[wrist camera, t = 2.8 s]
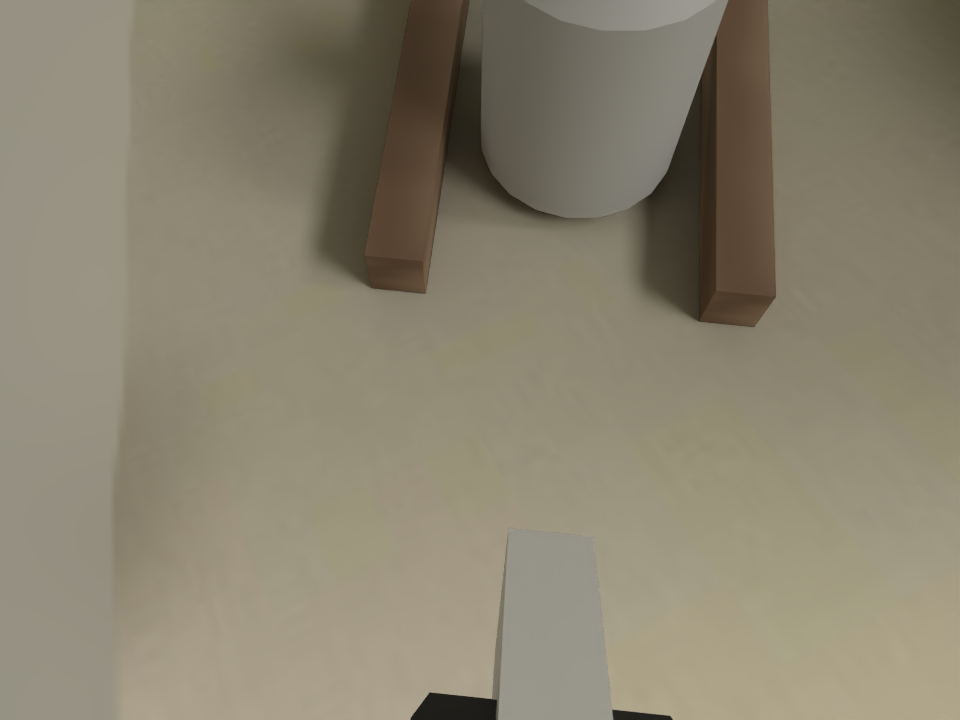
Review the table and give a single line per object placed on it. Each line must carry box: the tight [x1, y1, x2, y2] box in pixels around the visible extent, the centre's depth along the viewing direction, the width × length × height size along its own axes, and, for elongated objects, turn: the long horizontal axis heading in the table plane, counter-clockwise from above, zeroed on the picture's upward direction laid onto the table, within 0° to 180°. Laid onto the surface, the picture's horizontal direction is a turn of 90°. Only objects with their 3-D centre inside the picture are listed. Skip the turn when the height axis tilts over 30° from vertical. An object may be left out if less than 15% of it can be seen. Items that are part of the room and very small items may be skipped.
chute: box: [364, 0, 776, 327], centre depth 34 cm, size 14×16×2 cm
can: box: [481, 0, 728, 218], centre depth 29 cm, size 8×8×12 cm
